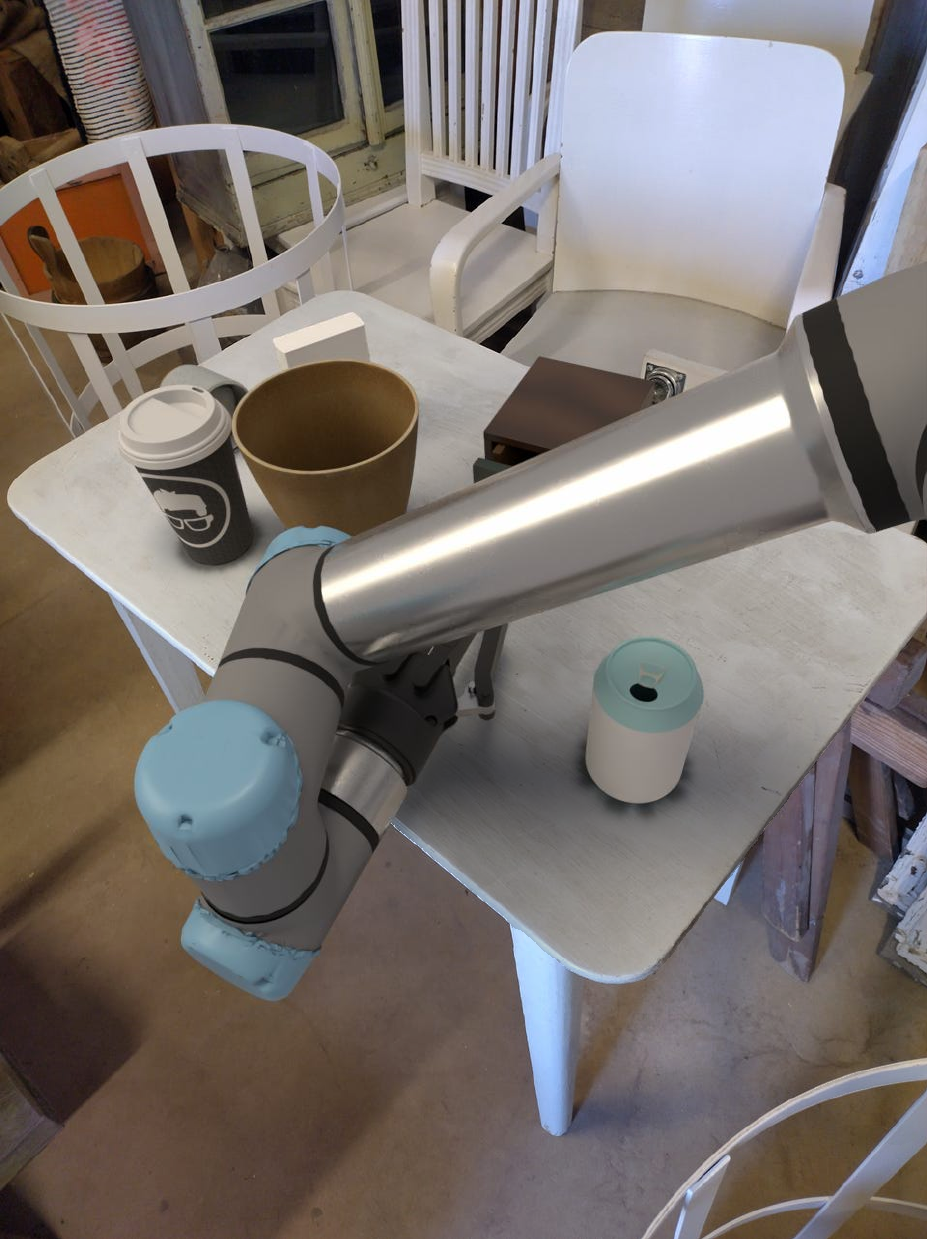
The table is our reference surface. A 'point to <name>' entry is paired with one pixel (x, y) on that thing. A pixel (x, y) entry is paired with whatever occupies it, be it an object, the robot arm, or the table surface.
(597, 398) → the cabinet
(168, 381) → the ceramic mug
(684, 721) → the can
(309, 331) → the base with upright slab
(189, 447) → the coffee cup
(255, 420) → the plant pot
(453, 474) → the table surface
